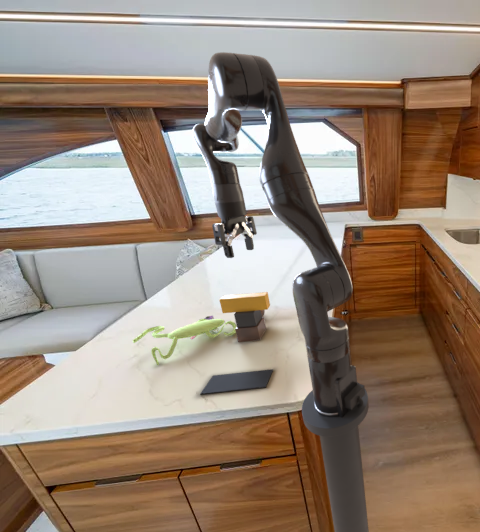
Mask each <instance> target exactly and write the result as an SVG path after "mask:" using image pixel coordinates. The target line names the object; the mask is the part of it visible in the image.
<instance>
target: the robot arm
mask: <svg viewBox="0 0 480 532" xmlns="http://www.w3.org/2000/svg"><path fill="white" fill-rule="evenodd" d="M275 72H276V71H275V70H274V68H273V65H271V63H270V61H268V59H267V58H265V57H262V56H260V55H255V54H245V53H237V52H236V53H235V52H224V51H223V52H215V53H213V55H212V56H211V57H210V60H209V63H208V68H207V82H208V83H207V85H208V89H207V91H208V112H207V115H206V117H205V121H204V123H197V124H195V125H194V126H193V128H192V132H191V133H192V138H193V141H194V143H195V145H196V146H197V149H198V150H199V152H200V154H201V155H202V158H203V160H204V161H205V164H206V167H207V170H208V174H209V179H210V183H211V187H212V196H213V200H214V204H215V209H216V213H217V216H218V218H219V219H220V220H221V222H220V223H213V224H212V225H211V227H212V232H213V239H214V243H215V245H216V246H222V249H223V253H224V256H225V257H226V258H227V259H233V258H235V252H234V249H233V245H232V243H233V240H234V239H235V237H236V236H238V235H239V234H240V235H242V236H243V237H244V242H245V249H246V250H247V251H253V250H254V249H255V248H254V245H255V244H254V240H253V238H254V236H256V235H257V233H258V232H257V227H256V223H255V219H254V217H253V215H252V216H250V215H247V209H246V208H247V207H246V203H245V198H244V192H243V188H242V186H241V181H240V177H239V172H238V167H237V164H236V163H234V162H232V161H229V160H222V159H219V158H218V157H217V156H216V155H215V154H214V153H234V152H235V151H237V150H238V149H239V144H240V143H239V136H238V134H239V133H240V131H241V129H242V126H243V118H242V115H241V113H240V111H242V112H243V111H245V112H246V111H247V112H251V111H252V112H253V111H254V112H255V111H256V112H257V111H258V112H259V111H261V112H262V113H263V114H264V117H265V120H266V124H267V138H266V143H265V148H264V150H263V153H262V157H261V161H260V166H259V170H258V171H259V172H258V178H259V182H260V186H261V188H262V191H263V194H264V196H265V198H266V199H265V200H266V201H267V204H268V206H269V208H270V211H271V212H272V214H273V215H274V216H275V217H276V218H277V219H278V221H280V223H282V224H283V225H284V226H285V227H286V228H287V229H289V230H290V231H291V232H292V233H293V234H294V235H296V236H297V238H299V239H300V240H301V241H302V242H303V243H304V245H305V246H306V247H307V249H308V251H309V252H310V254H311V256H312V259H313V260H314V263H315V265H316V266H315V267H313V268H309V269H307V270H305V271H302V272H300V273H298V274H297V275H295V277H294V278H293V281H292V287H291V289H292V297H293V301H294V305H295V310H296V315H297V320H298V324H299V328H300V330H301V333H302V335H303V337H304V343H305V349H306V356H307V363H308V368H309V376H310V383H311V388H312V389H311V390H313V395H314V404H315V409H316V411H317V412H318V413H319V414H320V415H322V416H325V417H336V416H339V417H344V416H345V415H346V413H347V412H348V411H349V410H350V409H351V410H352V408H353V407H354V406H355V405H356V404H357V403H358V402H360V404H358V405H357V407H358V408H360V407H361V406H362V405H363V400H362V399H361V398H362V397H363V396H364V395H365V389H366V388H365V385H364V384H361V383H360V382H358V377H357V367H356V365H354V364H353V363H352V362H353V361H352V352H351V341H350V331H349V325H348V324H347V321H345V320H344V319H342V318H339V317H334V316H329V314H328V313H329V312H330V311H332V310H334V309H336V308H338V307H340V306H342V305H344V304H345V303H347V302H348V301H350V299H351V298H352V296H353V289H354V287H353V282H352V278H351V275H350V273H349V270H348V268H347V266H346V264H345V262H344V259H343V257H342V255H341V253H340V251H339V249H338V246H337V244H336V243H335V241H334V238H333V236H332V234H331V231H330V229H329V227H328V224H327V221H326V219H325V216H324V214H323V212H322V209H321V207H320V204H319V201H318V198H317V194H316V191H315V188H314V186H313V183H312V181H311V177H310V174H309V172H308V170H307V168H306V165H305V162H304V160H303V158H302V156H301V152H300V149H299V147H298V144H297V141H296V139H295V136H294V132H293V129H292V127H291V126H292V125H291V124H290V118H289V116H288V112H287V109H286V104H285V101H284V97H283V94H282V91H281V87H280V84H279V80H278V78H277V75H276V73H275ZM357 382H358V383H357Z"/></svg>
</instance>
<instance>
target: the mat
mask: <svg viewBox="0 0 480 532" xmlns="http://www.w3.org/2000/svg"><path fill="white" fill-rule="evenodd" d="M273 372H274V369H273V368H271V369H261V370H253V371H241V372H231V373H224V374H213V375H212V376H211V377H210V379H209V381H208V382H207V383H206V385H205V386H204V388H203V389H202V390H201V392H200V393H199V394H200V396H203V395H213V394H220V393H221V394H222V393H230V392H239V391H247V390H248V391H250V390H257V389H265V388H267V386H268V383H269V381H270V379H271V376H272V374H273Z"/></svg>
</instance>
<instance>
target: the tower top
mask: <svg viewBox="0 0 480 532" xmlns="http://www.w3.org/2000/svg"><path fill="white" fill-rule="evenodd" d="M233 316H234V321H235V324H236V326H237V328H242V327H253V326H257V324H258V323H259V321H260V320H261V318H262V316H261V311H260V310H256V311H244V312H234V314H233Z"/></svg>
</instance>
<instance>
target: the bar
mask: <svg viewBox="0 0 480 532" xmlns="http://www.w3.org/2000/svg"><path fill="white" fill-rule="evenodd" d="M218 300H219V304H220V308H221V312H222V314H230V313H236V312H244V311H256V310H265V311H266V310H269V308H270V307H271V303H270V297H269V293H268V291H263V292H248V293H236V294H224V295H222V296H221V297H219V299H218Z"/></svg>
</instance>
